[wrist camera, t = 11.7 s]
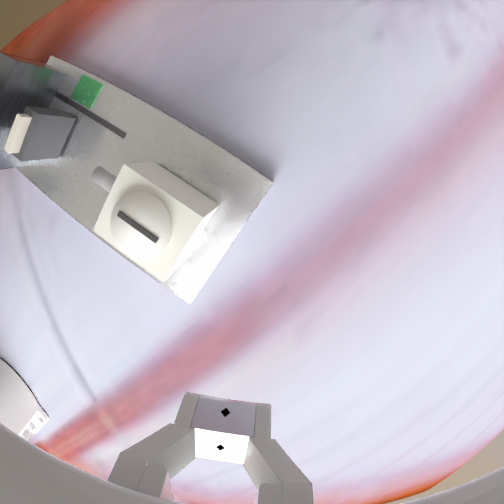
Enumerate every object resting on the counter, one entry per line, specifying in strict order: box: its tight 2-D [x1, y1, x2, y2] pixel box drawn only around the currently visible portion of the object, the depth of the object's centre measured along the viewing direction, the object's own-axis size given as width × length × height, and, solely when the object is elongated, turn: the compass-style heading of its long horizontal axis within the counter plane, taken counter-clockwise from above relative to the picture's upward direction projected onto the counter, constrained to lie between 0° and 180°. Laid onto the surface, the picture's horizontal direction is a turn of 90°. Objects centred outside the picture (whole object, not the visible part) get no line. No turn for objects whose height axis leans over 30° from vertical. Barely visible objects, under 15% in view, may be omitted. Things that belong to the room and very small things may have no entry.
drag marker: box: [4, 106, 76, 162], centre depth 17 cm, size 2×4×6 cm, turn 146°
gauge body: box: [91, 162, 219, 283], centre depth 19 cm, size 9×5×6 cm, turn 56°
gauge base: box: [0, 52, 273, 304], centre depth 18 cm, size 26×12×8 cm, turn 56°
